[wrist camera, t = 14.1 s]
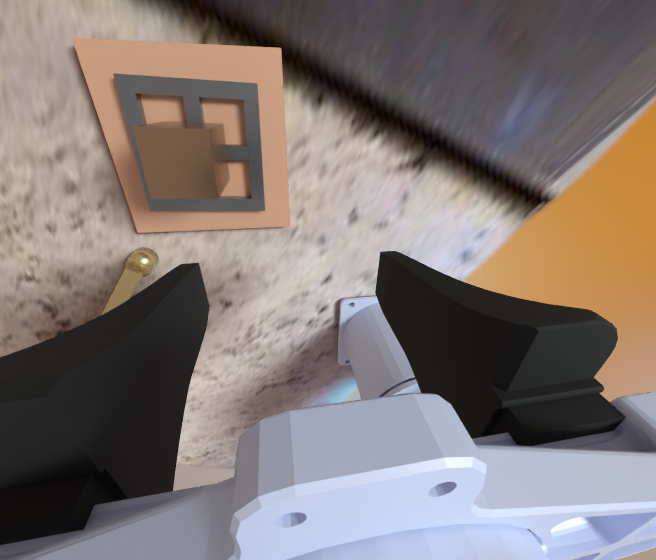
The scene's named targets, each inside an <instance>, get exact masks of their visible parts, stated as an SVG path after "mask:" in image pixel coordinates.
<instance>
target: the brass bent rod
mask: <svg viewBox="0 0 656 560" xmlns="http://www.w3.org/2000/svg"><path fill="white" fill-rule="evenodd" d="M157 263H158V256H157V254H156V253H155V252H154V251H153V250H151V249H149V248H144V247H142V248H138V249H136V250H135V251H134V252H133V253H132V254H131V256H130V257H129V258H128V259H127V260H126V261H125V270H124V272H123V273H122V275H121V277H120V279H119V281H118V283H117V285H116V287H115V289H114V291H113V293H112V295H111V297H110V299H109V301H108V303H107V305H106V306H105V308H104V310H103V312H102V313H101V315H103V314H105V313H106V312H108V311H110V310H112V309H114V308H115V307H117V306H119V305H121V304H122V303H124V302H125V301H127V300H128V299H130V298H131V297H132V295H133V293H134V291H135V290H136V288H137V286H138V284H139V282H140V280H141V279H142V277H145V276H147V275H149V274H150V273H151V271H152V270H153V268H154V267H155V266H156V264H157ZM101 315H100V316H101Z"/></svg>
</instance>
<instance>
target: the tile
mask: <svg viewBox="0 0 656 560" xmlns="http://www.w3.org/2000/svg"><path fill="white" fill-rule="evenodd" d="M72 40H73V43H74V46H75V49H76V52H77V55H78V58H79V61H80V64H81V67H82V70H83V73H84V76H85V79H86V82H87V85H88V88H89V90H90V93H91V96H92V99H93V102H94V105H95V108H96V111H97V114H98V117H99V120H100V123H101V126H102V129H103V132H104V135H105V138H106V141H107V144H108V146H109V149H110V152H111V155H112V158H113V161H114V164H115V167H116V170H117V173H118V176H119V179H120V182H121V185H122V188H123V191H124V194H125V197H126V199H127V202H128V205H129V208H130V211H131V214H132V217H133V220H134V223H135V226H136V229H137V232H138V233H145V232H169V231H193V230H218V229H242V228H266V227H290V211H289V192H288V172H287V153H286V134H285V114H284V95H283V76H282V56H281V48H271V47H251V46H230V45H210V44H189V43H169V42H149V41H128V40H108V39H87V38H72ZM113 73H116V74H130V75H145V76H159V77H174V78H188V79H203V80H217V81H232V82H246V83H257V84H258V96H259V113H260V129H261V145H262V162H263V178H264V195H265V211H150V209H149V206H148V202H147V198H146V194H145V191H144V187H143V183H142V179H141V176H140V172H139V168H138V164H137V161H136V157H135V153H134V150H133V146H132V142H131V138H130V135H129V131H128V127H127V123H126V120H125V116H124V112H123V108H122V105H121V101H120V97H119V94H118V90H117V86H116V82H115V79H114V75H113ZM140 97H141V101H142V105H143V109H144V114H145V118H146V122H147V124H150V123H156V122H163V121H177V122H187V117H186V112H185V106H184V100H183V96H169V95H152V94H140ZM201 100H202V107H203V113H204V120H205V123H220V124H223V125H224V133H225V142H226V144H243V145H247V137H246V125H245V113H244V102H243V100H236V99H219V98H202V97H201ZM228 167H229V176H230V180H229V182H228V183H227V185H226V187H225V189H224V190H223V192H222V194H221V196H251V185H250V173H249V161H248V160H228Z"/></svg>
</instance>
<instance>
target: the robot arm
mask: <svg viewBox="0 0 656 560" xmlns="http://www.w3.org/2000/svg"><path fill="white" fill-rule="evenodd" d="M375 293H376V296H371V297H358V298H346V299H343V300H341V302H340V313H339V334H338V355H337V362H338V364H339V365H340V366H345V365H351V367H352V370H353V374H354V377H355V380H356V384H357V387H358V390H359V393H360V397H361V400H355V401H348V402H341V403H334V404H327V405H320V406H313V407H306V408H299V409H292V410H288V411H284V412H281V413H278V414H275V415H272V416H268V417H265V418H263V419H262V420H260V421H259V422H258V423H257V424H255V425H254V426H253V427H252V428H250V429H249V430H248V431H247V432H245V433H244V434H243V435H242V436H241V437H240V440H239V444H238V449H237V453H236V463H235V474H234V477H233V478H230V479H228V480H225V481H222V482H219V483H217V484H212V485H207V486H200V487H195V488H189V489H183V490H178V491H173V485H174V476H175V469H176V461H177V454H178V447H179V440H180V434H181V427H182V421H183V415H184V409H185V404H186V399H187V393H188V388H189V384H190V380H191V376H192V373H193V370H194V367H195V364H196V360H197V357H198V354H199V351H200V348H201V344H202V341H203V338H204V334H205V331H206V327H207V321H208V313H209V303H208V299H207V295H206V291H205V287H204V282H203V278H202V274H201V270H200V266H199V263H191V264H181V265H179V266H177V267H176V268H174V269H173V270H171V271H170V272H168V273H167V274H166V275H164V276H163V277H161V278H160V279H158V280H157V281H156V282H154V283H153V284H151V285H150V286H148V287H147V288H146V289H144V290H143V291H141V292H139V293H138V294H136V295H135V296H133V297H132V298H130V299H128V300H127V301H125V302H124V303H122V304H121V305H119V306H117V307H115V308H114V309H112V310H110V311H108V312H106V313H105V314H103V315H101V316H99V317H97V318H95V319H93V320H91V321H89V322H87V323H85V324H83V325H81V326H78V327H76V328H74V329H72V330H69V331H67V332H65V333H63V334H60V335H58V336H56V337H54V338H51V339H49V340H46V341H44V342H41V343H39V344H36V345H34V346H31V347H28V348H26V349H23V350H20V351H17V352H15V353H12V354H9V355H6V356H4V357H1V358H0V560H618V559H621V558H624V557H627V556H630V555H633V554H636V553H639V552H642V551H646V550H649V549H652V548H656V393H653V392H647V393H641V394H635V395H629V396H623V397H619V398H616V399H615V400H613V401H611V402H608V401H607V400H606V399H605V398H604V397H603V396H602V395H600V394H599V393H600V392H602V391H603V390H604V387H603V385H602V384H600V383H599V382H598V381H597V380H596V379H594V376H595V375H596V374H597V372H598V371H599V369H600V368H601V367H602V365H603V364H604V363H605V361H606V360H607V359H608V357H609V356H610V355H611V353H612V351H613V350H614V348H615V346H616V342H617V339H618V336H617V329H616V328H615V327H614V325H613V324H612V323H610V322H608V321H607V320H606V319H604V318H603V317H601V316H600V315H598V314H597V313H595V312H593V311H591V310H587V309H580V308H573V307H565V306H558V305H550V304H545V303H540V302H535V301H529V300H524V299H519V298H515V297H511V296H507V295H503V294H499V293H496V292H492V291H488V290H485V289H482V288H479V287H476V286H473V285H470V284H468V283H465V282H462V281H459V280H457V279H455V278H452V277H450V276H448V275H445V274H443V273H441V272H439V271H436V270H434V269H432V268H430V267H428V266H426V265H424V264H422V263H420V262H418V261H416V260H414V259H412V258H410V257H408V256H406V255H404V254H401V253H399V252H396V251H387V252H380V260H379V268H378V276H377V284H376V291H375ZM350 303H353V304H352V305H349V304H350ZM347 360H348V361H347Z"/></svg>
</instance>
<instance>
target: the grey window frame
mask: <svg viewBox="0 0 656 560" xmlns="http://www.w3.org/2000/svg"><path fill="white" fill-rule="evenodd" d="M113 75H114V79H115V82H116V86H117V90H118V94H119V97H120V101H121V105H122V108H123V112H124V116H125V120H126V123H127V127H128V131H129V135H130V138H131V142H132V146H133V150H134V153H135V157H136V161H137V164H138V168H139V172H140V176H141V179H142V183H143V187H144V191H145V194H146V198H147V202H148V206H149V209H150V211H265V195H264V178H263V162H262V145H261V129H260V113H259V96H258V84H257V83H246V82H232V81H217V80H203V79H188V78H174V77H159V76H145V75H130V74H116V73H113ZM140 94H152V95H169V96H183V100H184V106H185V112H186V117H187V122H177V121H163V122H156V123H150V124H147V122H146V118H145V114H144V109H143V105H142V101H141V97H140ZM201 97H202V98H219V99H236V100H243V102H244V113H245V125H246V137H247V145H243V144H226V142H225V133H224V125H223V124H220V123H205V120H204V113H203V107H202V100H201ZM228 160H248V161H249V173H250V185H251V196H221V194H222V192H223V190H224V189H225V187H226V185H227V183H228V182H229V180H230V176H229V167H228Z"/></svg>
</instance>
